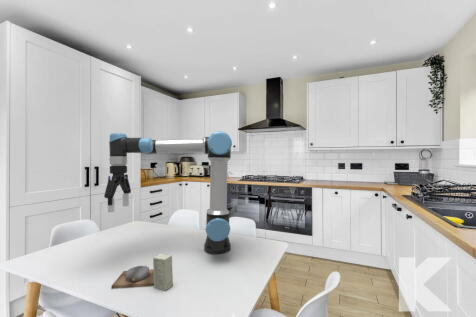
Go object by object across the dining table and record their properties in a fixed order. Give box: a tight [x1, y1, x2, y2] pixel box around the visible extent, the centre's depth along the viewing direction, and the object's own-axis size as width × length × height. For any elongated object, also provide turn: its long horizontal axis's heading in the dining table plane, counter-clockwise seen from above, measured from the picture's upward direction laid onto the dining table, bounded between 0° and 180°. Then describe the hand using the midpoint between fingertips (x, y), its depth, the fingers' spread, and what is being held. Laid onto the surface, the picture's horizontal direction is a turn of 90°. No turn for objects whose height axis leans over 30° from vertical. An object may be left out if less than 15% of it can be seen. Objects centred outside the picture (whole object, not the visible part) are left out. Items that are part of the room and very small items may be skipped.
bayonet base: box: [111, 265, 154, 290], centre depth 96 cm, size 16×12×4 cm
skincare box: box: [152, 253, 174, 291], centre depth 90 cm, size 6×4×12 cm
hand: (118, 209), depth 110 cm, fingers open, 13 cm apart
